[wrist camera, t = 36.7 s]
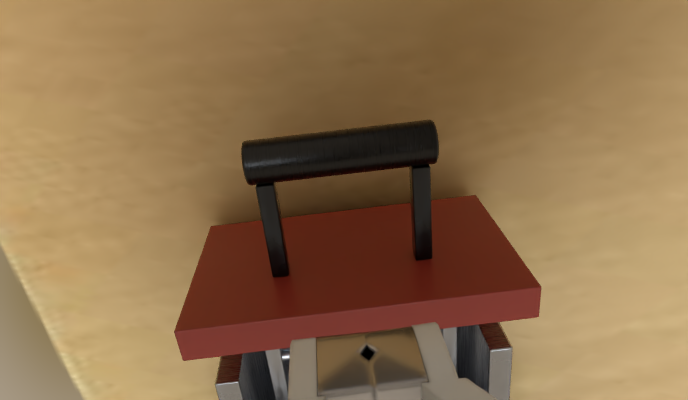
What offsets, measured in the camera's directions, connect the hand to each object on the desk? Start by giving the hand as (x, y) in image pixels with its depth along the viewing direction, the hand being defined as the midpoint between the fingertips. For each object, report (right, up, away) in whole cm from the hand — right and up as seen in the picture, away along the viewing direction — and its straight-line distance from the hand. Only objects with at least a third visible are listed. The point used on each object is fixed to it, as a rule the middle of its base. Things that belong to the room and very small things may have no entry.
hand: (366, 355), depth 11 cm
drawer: (0, -1, +13) cm, 13 cm away
